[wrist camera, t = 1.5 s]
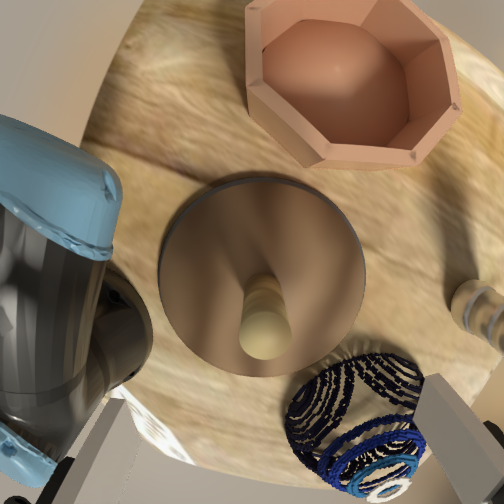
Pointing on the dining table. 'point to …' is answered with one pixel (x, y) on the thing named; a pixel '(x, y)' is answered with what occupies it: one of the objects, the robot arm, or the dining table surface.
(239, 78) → the dining table surface
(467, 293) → the plastic bottle
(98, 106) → the dining table surface
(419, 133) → the bowl
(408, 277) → the dining table surface
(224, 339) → the lid
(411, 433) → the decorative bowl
